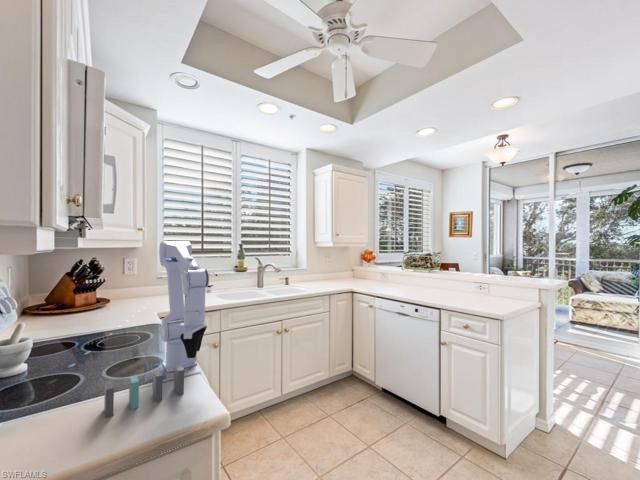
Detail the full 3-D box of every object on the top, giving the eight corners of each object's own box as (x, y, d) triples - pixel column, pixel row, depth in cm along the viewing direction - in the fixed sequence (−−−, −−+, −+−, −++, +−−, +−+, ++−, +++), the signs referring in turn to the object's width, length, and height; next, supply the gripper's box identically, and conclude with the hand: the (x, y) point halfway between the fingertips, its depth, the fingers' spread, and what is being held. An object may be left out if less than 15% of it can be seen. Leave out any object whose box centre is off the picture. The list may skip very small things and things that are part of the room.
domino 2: (136, 399, 79) (136, 374, 78) (138, 407, 75) (138, 381, 75) (129, 401, 78) (129, 376, 77) (131, 409, 74) (131, 383, 74)
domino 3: (158, 393, 82) (159, 369, 82) (162, 400, 79) (162, 375, 79) (152, 394, 81) (153, 370, 81) (155, 402, 78) (156, 376, 78)
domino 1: (111, 406, 75) (112, 380, 75) (113, 415, 72) (113, 387, 72) (104, 409, 74) (104, 382, 74) (105, 417, 71) (105, 389, 71)
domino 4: (179, 387, 86) (180, 363, 86) (183, 393, 82) (184, 369, 82) (173, 388, 85) (174, 365, 85) (177, 395, 81) (178, 371, 81)
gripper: (187, 303, 92) (186, 345, 92) (172, 316, 78) (171, 365, 78) (210, 303, 93) (209, 344, 94) (199, 315, 79) (198, 364, 79)
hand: (193, 354), depth 86 cm, fingers open, 4 cm apart
